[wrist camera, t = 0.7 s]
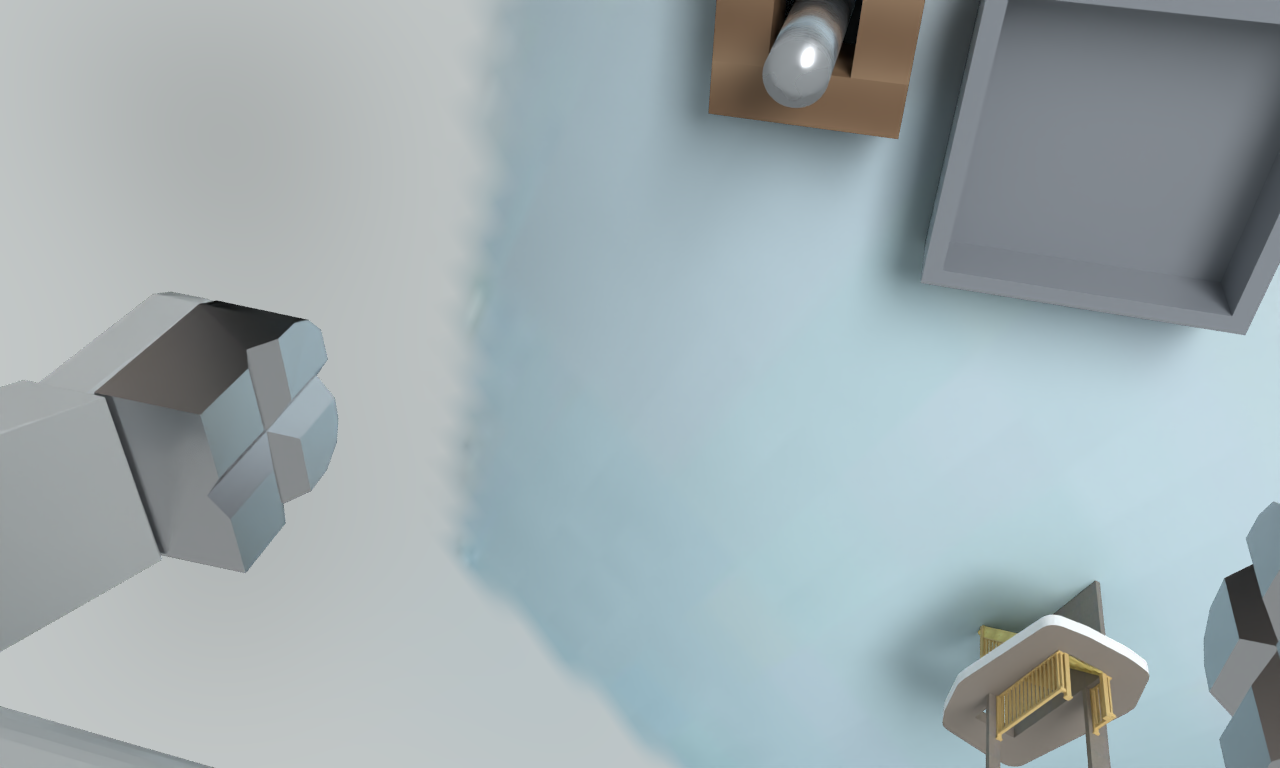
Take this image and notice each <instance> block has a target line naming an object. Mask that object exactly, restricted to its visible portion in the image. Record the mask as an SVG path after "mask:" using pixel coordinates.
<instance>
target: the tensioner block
mask: <svg viewBox="0 0 1280 768" xmlns="http://www.w3.org/2000/svg"><path fill="white" fill-rule="evenodd" d="M786 1H787V0H717V1H716V15H715V29H714V43H713V57H712V71H711V85H710V99H709V114H716V115H724V116H731V117H738V118H746V119H753V120H761V121H768V122H775V123H783V124H790V125H798V126H805V127H812V128H820V129H827V130H835V131H842V132H849V133H857V134H864V135H872V136H879V137H887V138H894V139H898V137H899V132H900V127H901V122H902V117H903V111H904V106H905V101H906V96H907V91H908V86H909V81H910V75H911V70H912V65H913V60H914V55H915V50H916V44H917V39H918V34H919V29H920V24H921V19H922V14H923V8H924V3H925V0H863V3H862V9H861V15H860V22H859V28H858V34H857V41H856V44H851V43H842V45H841V48H840V51H839V54H838V57H837V60H836V63H835V66H834V69H833V72H832V74H831V77H830V80H829V83H828V86H827V89H826V91H825V92H824V94H823V95H822V96H821V98H820V99H819V100H817V101H816V102H815V103H813V104H811V105H809V106H806V107H802V108H791V107H786V106H783V105H781V104H779V103H778V102H776V101H775V100H774V99H773V98H772V97H771V96H770V95H769V94H768V92H767V90H766V89H765V86H764V83H763V76H762V75H763V67H764V64H765V61H766V59H767V57H768V55H769V53H770V51H771V49H772V47H773V45H774V43H775V41H776V39H777V37H778V35H779V33H780V31H781V29H782V27H783V24H784V19H785V10H786Z"/></svg>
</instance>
